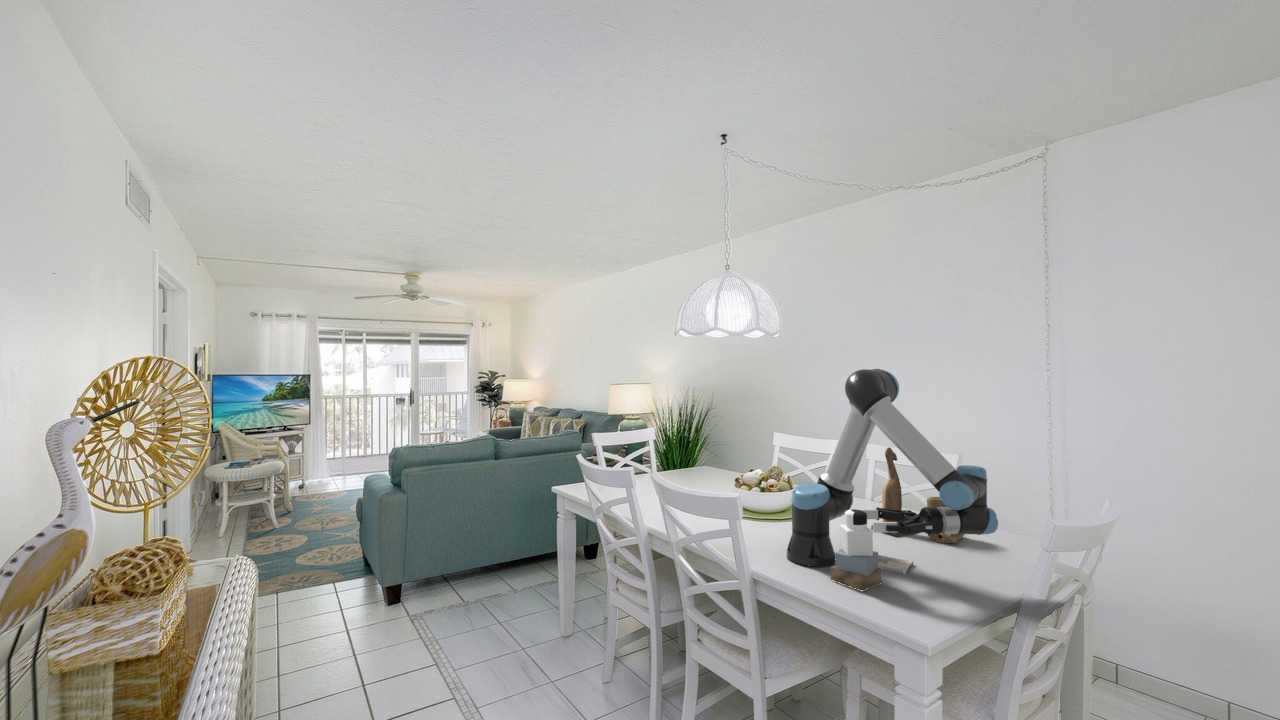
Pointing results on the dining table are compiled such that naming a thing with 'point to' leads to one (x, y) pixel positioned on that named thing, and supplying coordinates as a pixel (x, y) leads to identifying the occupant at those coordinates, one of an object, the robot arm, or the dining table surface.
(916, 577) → the dining table surface
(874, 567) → the tower top block
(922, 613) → the dining table surface
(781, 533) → the dining table surface
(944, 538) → the brown chunky piece
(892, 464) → the bird sculpture
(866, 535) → the medicine bottle
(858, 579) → the tower base block
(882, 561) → the newspaper
